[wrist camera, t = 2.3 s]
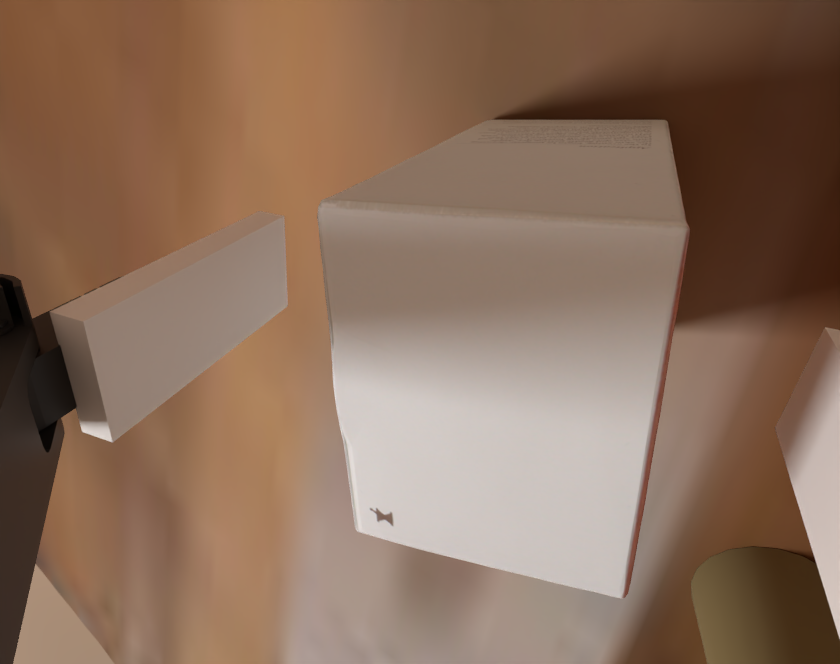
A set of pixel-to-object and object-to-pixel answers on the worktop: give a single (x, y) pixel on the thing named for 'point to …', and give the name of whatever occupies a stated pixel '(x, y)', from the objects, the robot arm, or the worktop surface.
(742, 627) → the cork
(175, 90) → the worktop surface
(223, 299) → the robot arm
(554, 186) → the small box
